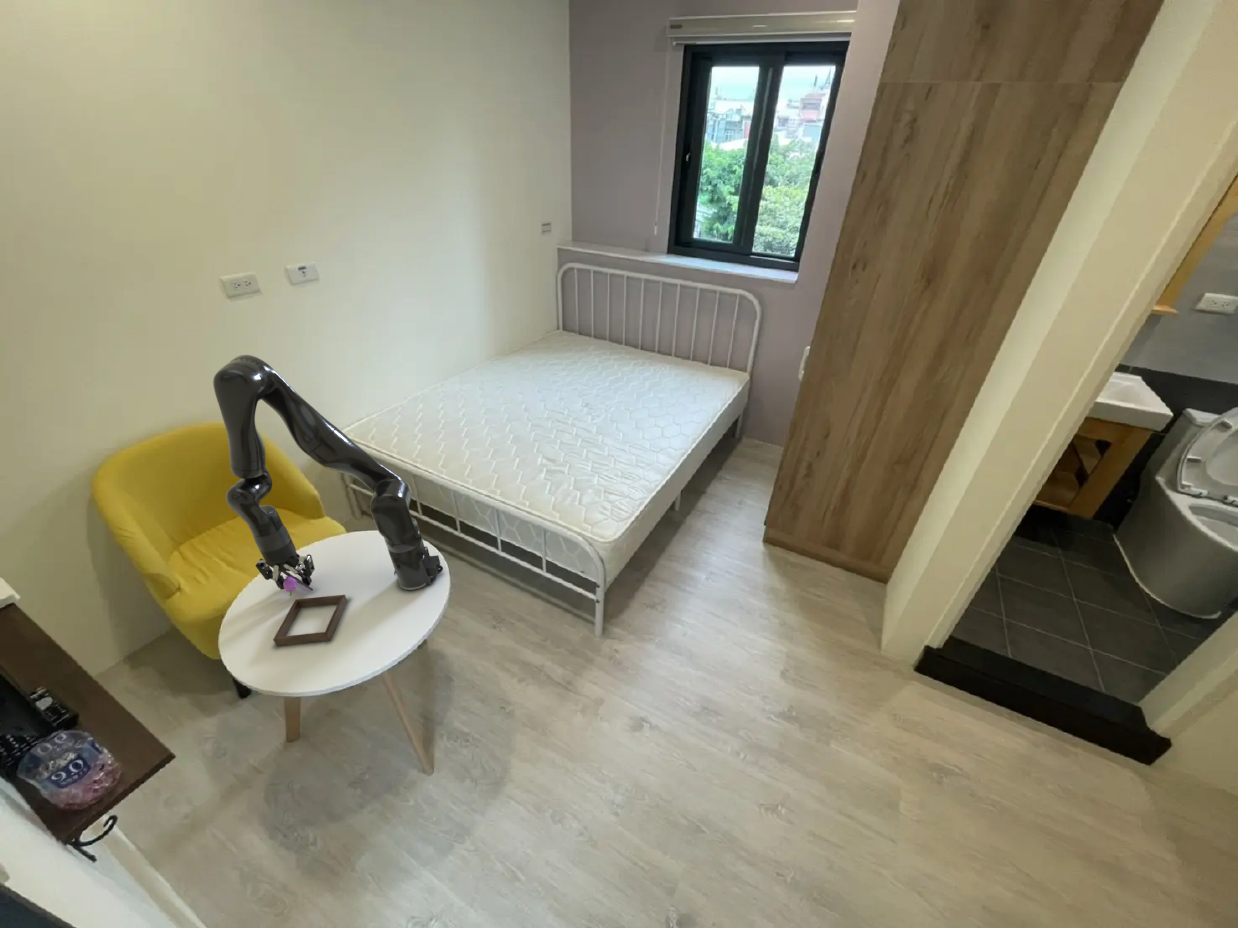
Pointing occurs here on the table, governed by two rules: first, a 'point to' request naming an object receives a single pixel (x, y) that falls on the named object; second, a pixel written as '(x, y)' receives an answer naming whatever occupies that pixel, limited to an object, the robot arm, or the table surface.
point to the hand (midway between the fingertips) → (296, 586)
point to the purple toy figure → (292, 582)
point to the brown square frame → (312, 637)
